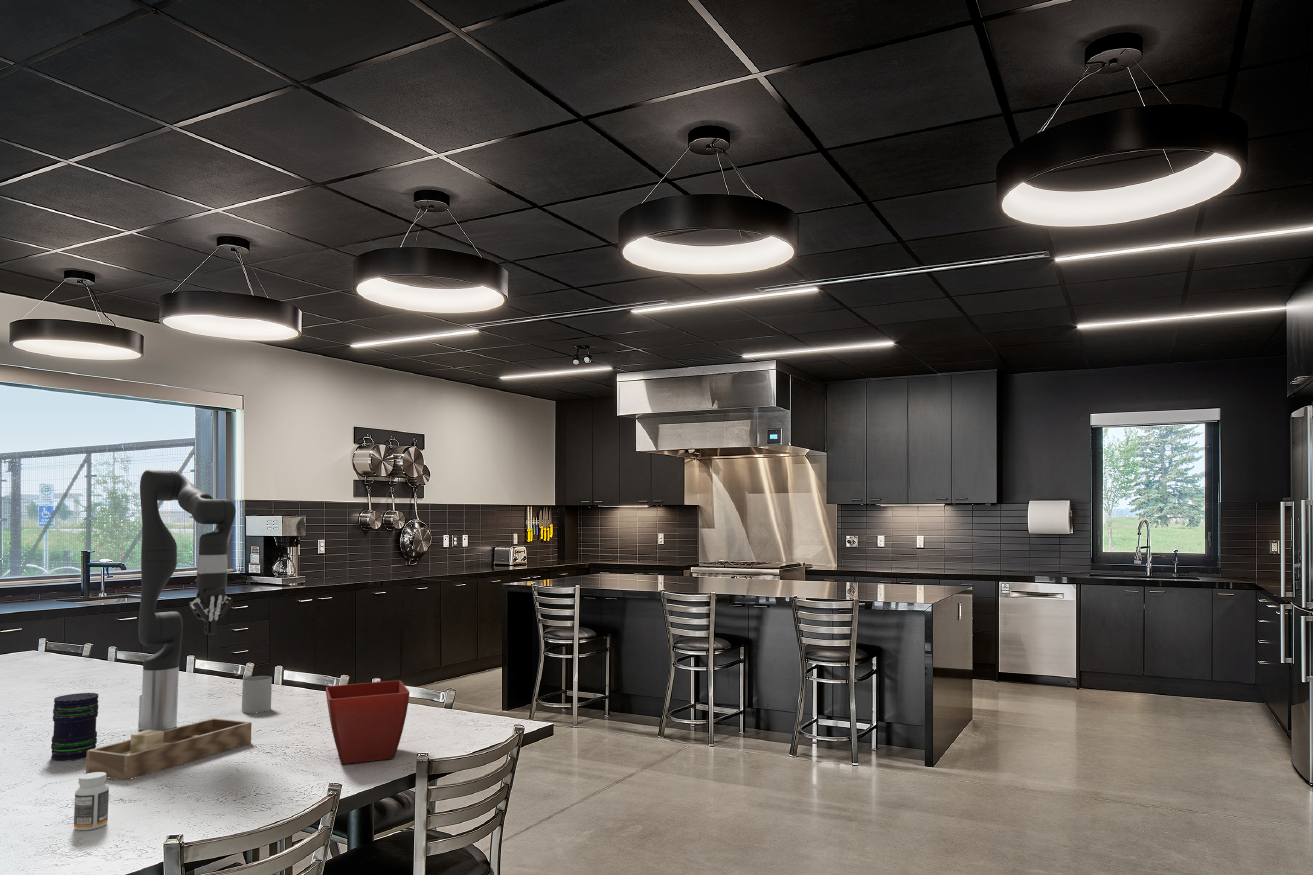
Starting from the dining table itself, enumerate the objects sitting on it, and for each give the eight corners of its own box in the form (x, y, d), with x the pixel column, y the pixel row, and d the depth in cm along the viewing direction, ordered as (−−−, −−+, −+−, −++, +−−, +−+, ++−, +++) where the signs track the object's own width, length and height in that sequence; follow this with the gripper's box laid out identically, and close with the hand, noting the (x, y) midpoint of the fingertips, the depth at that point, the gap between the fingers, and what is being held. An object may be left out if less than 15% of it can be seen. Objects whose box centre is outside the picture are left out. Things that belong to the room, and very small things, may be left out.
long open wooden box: (212, 738, 244) (213, 718, 244) (250, 742, 239) (251, 722, 239) (85, 774, 211) (86, 750, 211) (126, 780, 206) (127, 756, 206)
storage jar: (47, 763, 221) (50, 702, 222) (53, 753, 229) (56, 695, 231) (94, 757, 225) (97, 698, 227) (98, 748, 234) (101, 691, 235)
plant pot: (323, 751, 230) (325, 685, 232) (399, 743, 238) (400, 679, 239) (327, 770, 213) (329, 698, 214) (409, 761, 220) (410, 692, 222)
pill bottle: (99, 819, 179) (101, 769, 180) (112, 825, 176) (115, 773, 177) (68, 827, 174) (70, 776, 175) (81, 833, 171) (83, 780, 172)
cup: (259, 713, 274) (260, 681, 275) (235, 712, 276) (237, 680, 277) (276, 708, 282) (277, 676, 283) (253, 707, 284) (254, 675, 285)
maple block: (130, 755, 216) (130, 734, 217) (147, 749, 221) (148, 729, 221) (145, 756, 214) (146, 735, 215) (163, 751, 219) (163, 730, 220)
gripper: (222, 569, 252) (220, 630, 251) (181, 572, 240) (178, 636, 239) (241, 569, 249) (239, 632, 248) (201, 572, 237) (199, 638, 236)
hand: (209, 634), depth 243 cm, fingers closed
